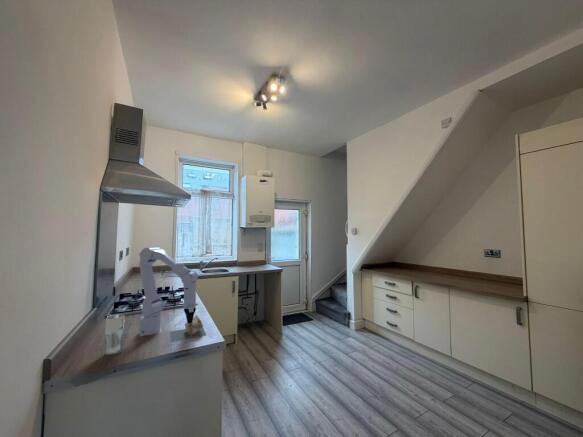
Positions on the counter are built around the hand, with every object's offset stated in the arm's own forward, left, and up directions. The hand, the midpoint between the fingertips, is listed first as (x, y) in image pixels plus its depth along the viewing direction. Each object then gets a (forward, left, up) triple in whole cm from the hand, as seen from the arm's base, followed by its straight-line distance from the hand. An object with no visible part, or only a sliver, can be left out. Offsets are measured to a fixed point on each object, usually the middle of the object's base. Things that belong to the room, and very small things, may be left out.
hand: (189, 322), depth 125 cm
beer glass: (-31, -4, -6) cm, 32 cm away
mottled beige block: (-1, 0, -4) cm, 4 cm away
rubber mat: (-1, 0, -6) cm, 6 cm away
